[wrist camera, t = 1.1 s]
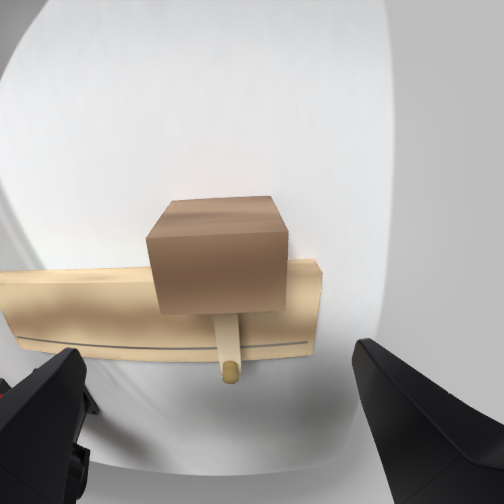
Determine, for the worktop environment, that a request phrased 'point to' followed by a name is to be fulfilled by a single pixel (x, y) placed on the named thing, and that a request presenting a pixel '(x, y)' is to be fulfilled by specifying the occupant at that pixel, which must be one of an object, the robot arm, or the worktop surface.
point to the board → (147, 316)
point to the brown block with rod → (220, 265)
